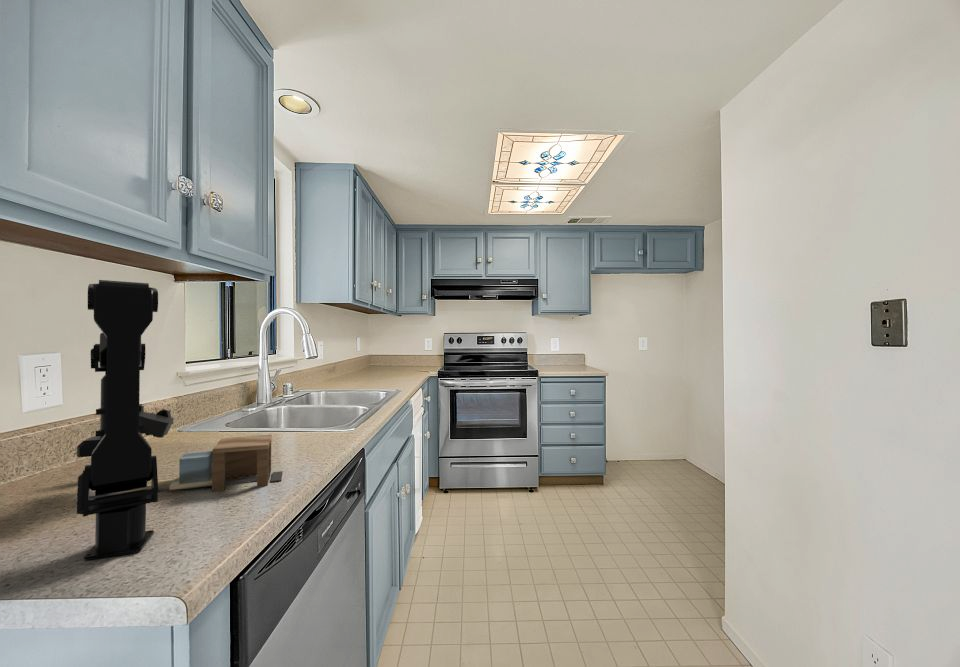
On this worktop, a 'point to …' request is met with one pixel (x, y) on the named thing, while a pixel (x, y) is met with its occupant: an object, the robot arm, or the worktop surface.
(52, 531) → the worktop surface
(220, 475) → the tunnel
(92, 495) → the rail
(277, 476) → the grey flat block
